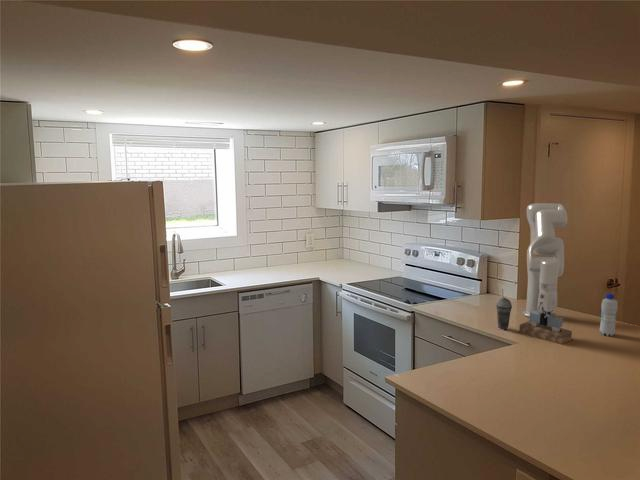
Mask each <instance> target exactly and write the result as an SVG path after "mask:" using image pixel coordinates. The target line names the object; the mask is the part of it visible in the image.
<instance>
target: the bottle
mask: <svg viewBox="0 0 640 480" xmlns="http://www.w3.org/2000/svg"><path fill="white" fill-rule="evenodd" d="M618 308H619V307H618V300H616V299H615V294H614V293H606V294H605V298H604V299H602V302H601V305H600V310H601V315H600V317H601V318H600V325H599V333H600V334H601V335H602V336H604V335H606V337H609V336H610V337H612V336H614V335H615V334H616V320H617V312H618Z"/></svg>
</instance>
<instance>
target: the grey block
mask: <svg viewBox="0 0 640 480" xmlns="http://www.w3.org/2000/svg"><path fill="white" fill-rule="evenodd" d="M528 318H529V320H528V321H531V326H534V327H539V323H540V314H539V313H538V312H535V311H532V312H530V317H528ZM546 318H547V325H549V326H552V331H553V332H557V333H559V332H560V328H562V327H563V325H564V324H563V321H564V318H563V317H559V316H555V315H553V314H552V315H548V314H547V317H546Z"/></svg>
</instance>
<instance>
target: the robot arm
mask: <svg viewBox="0 0 640 480" xmlns="http://www.w3.org/2000/svg"><path fill="white" fill-rule="evenodd" d="M526 219H527V222H528V224H529V228H530V238H529V239H530V240H529V241H530V244H529V245H528V248H527V250H526V269H527V289H526V306H525V307H526V308H525V310H522V315H523V316H525V317H527V318H530V312H532V311H535V312H538V313H539V314H540V325H543V326H547V318H546V317H547V314H548V315H552V316H553V313H554V311H555V310H557V308H558V278H559V277H561V276H562V275H563V273H564V269H565V246H564V245H565V244H564V241H563V239H562V238H560V237H556V234H555V227H565V226H566V225H567V224H568V213H567V210H566V208H565V206H564V205H563V204H561V203H546V202H545V203H541V202H539V203H538V202H537V203H530V204H529V205H527V207H526ZM534 255H537V256H534ZM539 255H540V256H539Z"/></svg>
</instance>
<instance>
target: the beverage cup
mask: <svg viewBox="0 0 640 480" xmlns="http://www.w3.org/2000/svg"><path fill="white" fill-rule="evenodd" d="M501 294H502V297H501V298H499V299H498V300H497V303H496V305H495V306H496V314H497V329H498V328H500V329H508V330H509V326H510V325H509V324H510V318H511V313H512V312H511V311H512V308H513V307H512V306H513V305H512V302H511V300H510V299H508V298H507V297H505V296H504V288H502V289H501ZM500 329H499V330H500Z"/></svg>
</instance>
